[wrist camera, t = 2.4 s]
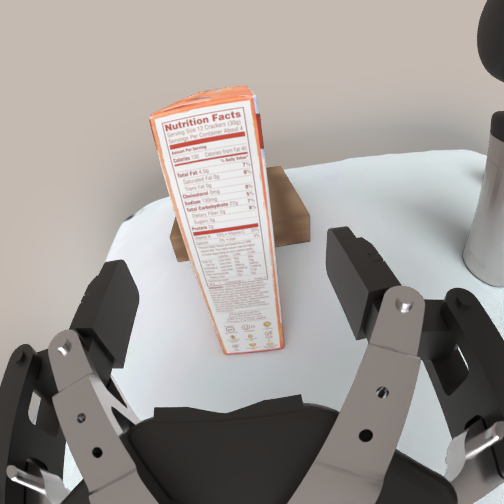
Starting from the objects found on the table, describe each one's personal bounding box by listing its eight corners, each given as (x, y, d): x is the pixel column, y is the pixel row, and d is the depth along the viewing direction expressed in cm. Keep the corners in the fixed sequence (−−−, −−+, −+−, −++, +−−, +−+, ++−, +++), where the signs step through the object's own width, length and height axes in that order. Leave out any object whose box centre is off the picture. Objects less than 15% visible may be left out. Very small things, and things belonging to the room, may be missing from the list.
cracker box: (224, 263, 35) (189, 93, 23) (271, 257, 35) (251, 83, 23) (219, 358, 24) (142, 111, 12) (285, 351, 24) (262, 88, 12)
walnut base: (282, 185, 53) (280, 166, 51) (310, 241, 37) (309, 215, 35) (191, 199, 53) (186, 181, 51) (178, 261, 37) (169, 237, 34)
